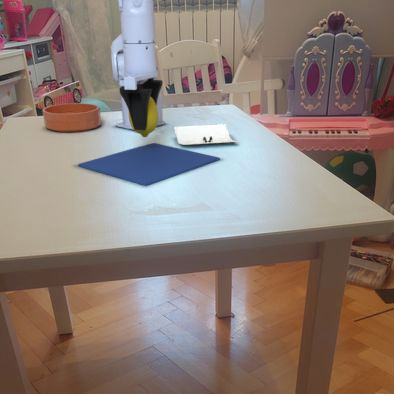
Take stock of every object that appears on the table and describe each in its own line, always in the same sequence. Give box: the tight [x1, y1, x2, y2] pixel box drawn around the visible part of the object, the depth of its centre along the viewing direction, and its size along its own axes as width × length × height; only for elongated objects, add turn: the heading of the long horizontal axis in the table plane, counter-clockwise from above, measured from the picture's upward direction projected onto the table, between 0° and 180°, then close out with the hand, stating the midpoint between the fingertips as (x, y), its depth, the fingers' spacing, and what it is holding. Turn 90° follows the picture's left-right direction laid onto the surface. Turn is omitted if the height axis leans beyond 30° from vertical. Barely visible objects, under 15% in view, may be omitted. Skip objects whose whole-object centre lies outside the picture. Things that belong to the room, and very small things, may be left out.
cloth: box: [77, 142, 221, 187], centre depth 93 cm, size 20×18×1 cm
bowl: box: [42, 102, 102, 133], centre depth 117 cm, size 13×13×4 cm
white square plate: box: [173, 123, 240, 146], centre depth 106 cm, size 12×12×2 cm
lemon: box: [129, 97, 158, 139], centre depth 93 cm, size 6×6×8 cm
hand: (144, 126), depth 94 cm, fingers closed on lemon, 5 cm apart
